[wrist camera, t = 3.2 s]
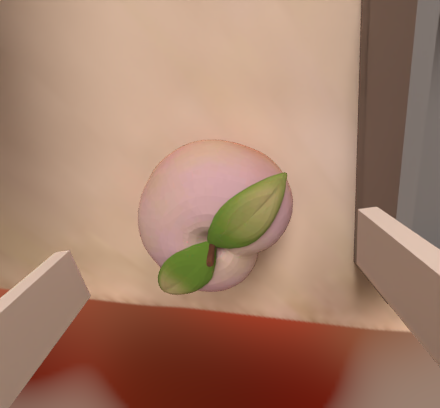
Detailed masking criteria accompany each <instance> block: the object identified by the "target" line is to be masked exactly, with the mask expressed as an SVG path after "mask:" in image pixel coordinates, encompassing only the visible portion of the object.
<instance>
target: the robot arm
mask: <svg viewBox="0 0 440 408" xmlns="http://www.w3.org/2000/svg"><path fill="white" fill-rule="evenodd" d="M356 264H357V265H358V266H359V268H360V269H361V270H362V271H363V273H364V274H365V275H366V276H367V277H368V279H369V280H370V281H371V282H372V284H373V285H374V286H375V287H376V289H377V290H378V291H379V292H380V294H381V295H382V296H383V297H384V299H385V300H386V301H387V302H388V304H389V305H390V306H391V307H392V309H393V310H394V311H395V312H396V314H397V315H398V316H399V317H400V319H401V320H402V321H403V322H404V324H405V325H406V326H407V327H408V328H409V330H410V331H411V332H412V333H413V335H414V336H415V337H416V338H417V340H418V341H419V342H420V343H421V344H422V346H423V347H424V348H425V350H426V351H427V352H428V353H429V355H430V356H431V357H432V358H433V360H434V361H435V362H436V363H437V365H438V366H439V367H440V249H438V248H437V247H435V246H434V245H432V244H431V243H429V242H428V241H426V240H425V239H424V238H422V237H421V236H419V235H418V234H416V233H415V232H413V231H412V230H410V229H409V228H407V227H406V226H405V225H403V224H402V223H400V222H399V221H397V220H396V219H394V218H393V217H391V216H390V215H388V214H387V213H386V212H384V211H383V210H381V209H380V208H378V207H370V208H363V209H358V222H357V261H356ZM89 298H90V293H89V291H88V289H87V287H86V285H85V282H84V280H83V278H82V276H81V274H80V272H79V269H78V267H77V265H76V263H75V261H74V259H73V256H72V254H71V252H70V250H68V251H61V252H55V253H53V254H52V255H51V256H50V257H49V258H48V259H46V260H45V261H44V262H43V263H42V264H40V265H39V266H38V267H37V268H36V269H34V270H33V271H32V272H31V273H30V274H28V275H27V276H26V277H25V278H24V279H22V280H21V281H20V282H19V283H18V284H17V285H15V286H14V287H13V288H12V289H11V290H9V291H8V292H7V293H6V294H5V295H3V296H2V297H1V298H0V408H9V407H10V406H11V405H12V403H13V402H14V400H15V399H16V398H17V396H18V395H19V394H20V392H21V391H22V390H23V388H24V387H25V385H26V384H27V383H28V381H29V380H30V378H31V377H32V376H33V374H34V373H35V372H36V370H37V369H38V368H39V366H40V365H41V363H42V362H43V361H44V359H45V358H46V357H47V355H48V354H49V352H50V351H51V350H52V348H53V347H54V346H55V344H56V343H57V342H58V340H59V339H60V337H61V336H62V335H63V333H64V332H65V331H66V329H67V328H68V327H69V325H70V324H71V322H72V321H73V320H74V318H75V317H76V316H77V314H78V313H79V311H80V310H81V309H82V307H83V306H84V305H85V303H86V302H87V301H88V299H89Z"/></svg>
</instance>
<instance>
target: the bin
mask: <svg viewBox="0 0 440 408" xmlns="http://www.w3.org/2000/svg"><path fill="white" fill-rule="evenodd" d="M370 207H378V208H380V209H381V210H383V211H384V212H386V213H387V214H388V215H390V216H391V217H393V218H394V219H396V220H397V221H399V222H400V223H402V224H403V225H405V226H406V227H407V228H409V229H410V230H412V231H413V232H415V233H416V234H418V235H419V236H421V237H422V238H424V239H425V240H426V241H428V242H429V243H431V244H432V245H434V246H435V247H437V248H438V249H440V0H362V11H361V44H360V76H359V109H358V142H357V174H356V207H355V240H354V262H355V264H356V261H357V222H358V209H363V208H370ZM356 265H357V264H356ZM357 266H358V265H357ZM358 267H359V266H358ZM359 269H360V268H359ZM360 270H361V269H360ZM361 271H362V270H361ZM362 272H363V271H362ZM363 274H364V273H363ZM364 275H365V274H364ZM365 276H366V275H365ZM366 277H367V276H366ZM367 279H368V277H367ZM368 280H369V279H368ZM369 281H370V280H369ZM370 282H371V281H370ZM371 284H372V282H371ZM372 285H373V284H372ZM373 286H374V285H373ZM374 287H375V286H374ZM375 289H376V287H375ZM376 290H377V289H376ZM377 291H378V290H377ZM378 292H379V291H378ZM379 294H380V292H379ZM380 295H381V294H380ZM381 296H382V295H381ZM382 298H383V299H384V297H383V296H382ZM384 300H385V299H384ZM385 301H386V300H385ZM386 303H387V304H388V302H387V301H386Z"/></svg>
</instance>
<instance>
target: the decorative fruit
mask: <svg viewBox="0 0 440 408" xmlns="http://www.w3.org/2000/svg"><path fill="white" fill-rule="evenodd" d="M292 207H293V198H292V192H291V189H290V186H289V184H288V181H287V173H282V171H281V170H280V168H279V167H278V166H277V164H275V163H274V162H273V161H272V160H271V159H270V158H269V157H267V156H266V155H265V154H263V153H261V152H259V151H257V150H255V149H252V148H250V147H247V146H244V145H241V144H238V143H234V142H229V141H224V140H201V141H196V142H192V143H189V144H186V145H184V146H182V147H180V148H178V149H177V150H175V151H173V152H172V153H171V154H169V155H168V156H167V157H165V158H164V159H163V160H162V161H161V162H160V163H159V164H158V165H157V166H156V168H155V169H154V171H153V172H152V174H151V176H150V178H149V180H148V182H147V184H146V186H145V188H144V190H143V193H142V195H141V199H140V203H139V210H138V226H139V232H140V236H141V239H142V242H143V245H144V247H145V249H146V250H147V252H148V253H149V255H150V256H151V257H152V258H153V260H154V261H155V262H156V263H157V264H158V265H159V266H160V267H161V269H160V271H159V275H158V283H159V286H160V288H161V289H162V290H163V291H164V292H166V293H169V294H174V295H180V294H188V293H191V292H194V291H197V290H200V291H209V292H212V291H223V290H226V289H229V288H231V287H233V286H235V285H237V284H238V283H240V282H242V281H243V280H244V279H245V278H246V277H247V276H248V275H249V273H250V272H251V270H252V269H253V267H254V265H255V263H256V260H257V256H258V252H261V251H263V250H265V249H267V248H269V247H270V246H272V245H273V244H274V243H275V242H276V241H277V240H278V239H279V238H280V237H281V235H282V234H283V233H284V231H285V230H286V228H287V226H288V223H289V221H290V218H291V215H292Z"/></svg>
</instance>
